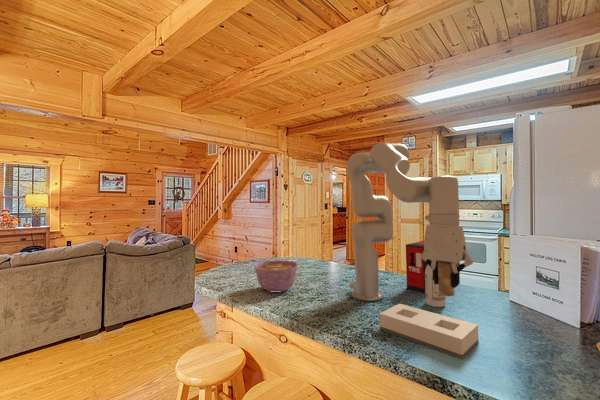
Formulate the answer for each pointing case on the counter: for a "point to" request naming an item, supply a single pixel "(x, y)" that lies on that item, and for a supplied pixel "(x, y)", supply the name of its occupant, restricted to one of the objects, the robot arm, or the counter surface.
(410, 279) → the cleaning product box
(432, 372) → the counter surface
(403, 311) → the hole block
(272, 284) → the bowl of food
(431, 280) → the bath foam
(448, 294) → the oak pin
